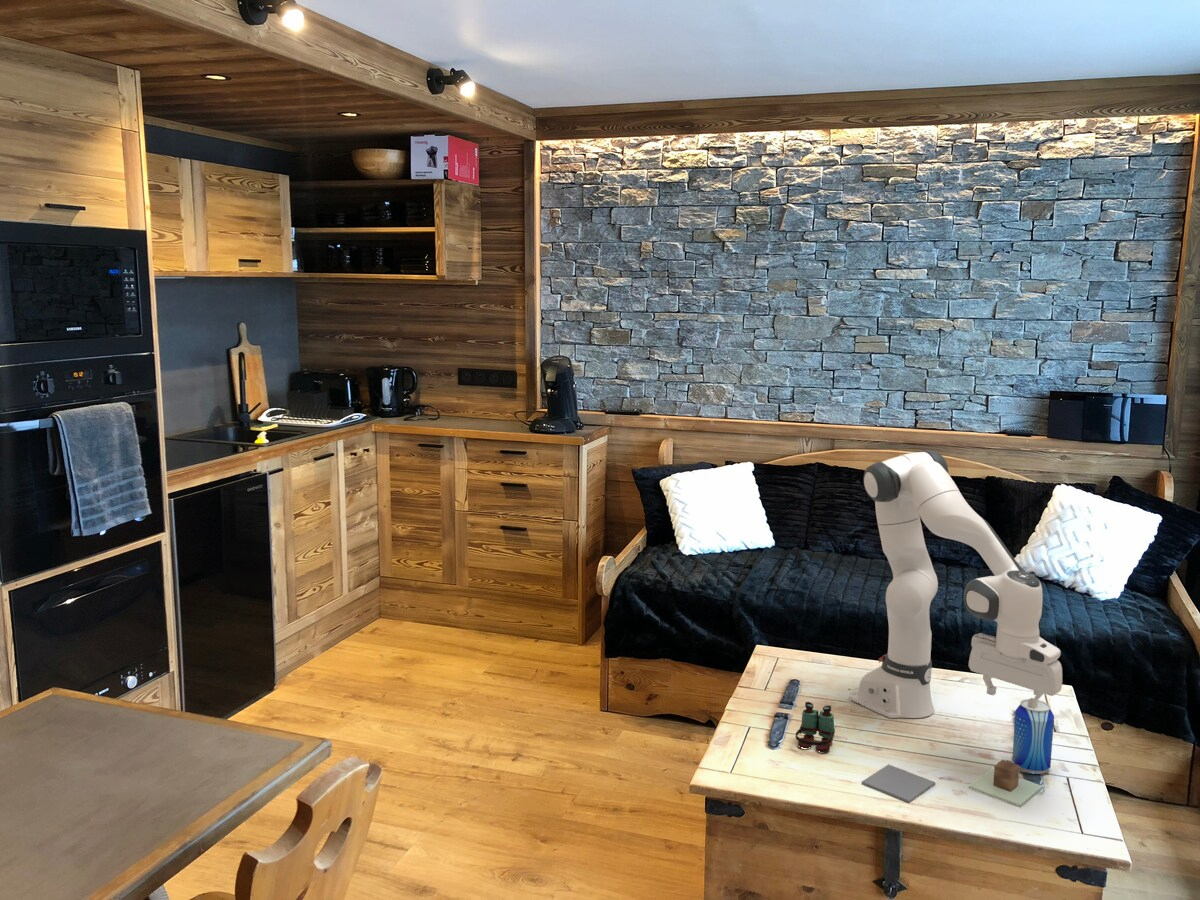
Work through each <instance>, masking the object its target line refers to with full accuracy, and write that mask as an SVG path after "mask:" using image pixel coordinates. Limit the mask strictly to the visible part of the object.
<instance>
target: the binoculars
mask: <svg viewBox="0 0 1200 900" xmlns="http://www.w3.org/2000/svg"><path fill="white" fill-rule="evenodd" d="M804 704H805V705H804V708H805V709H803V710H802V713H801V725H800V726H799V729H798V730H797V731H796V733H795V739H796V741H798V743H797V746H798V745H799V746H800V747H803V748H809V747H811V748H812V746H815V748H816V751H817V750H818V751H820V752H826V753H828V752H829V751H830V749H831V748H830V745H833V740H834V738H835V733H836V728H835V720H834V719H835V718H834V714H833V713H831V711H832V706H831V705H828V704H827V705H823V707H822V710H820V711H819V710H817V709H814V704H813V702H810V701H805V703H804ZM817 733H818V736H819V737H821V741H815V735H817ZM802 734H803V737H799V736H798V735H802ZM813 740H814V741H813Z"/></svg>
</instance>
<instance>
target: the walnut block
mask: <svg viewBox="0 0 1200 900" xmlns="http://www.w3.org/2000/svg"><path fill="white" fill-rule="evenodd" d="M1019 767H1020V765H1017V764H1014V763H1013V762H1010V761H1007V760H1006V759H1001V760H1000V761H998V762H997V763H996V764H994V768H993V769H994V783H993V786H996V787H998V788H1001V789H1004V790H1007V791H1009V792H1011V791H1012V790H1014V789H1015V788H1016V787H1017V786H1018V781H1019V778H1020V770H1019Z"/></svg>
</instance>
